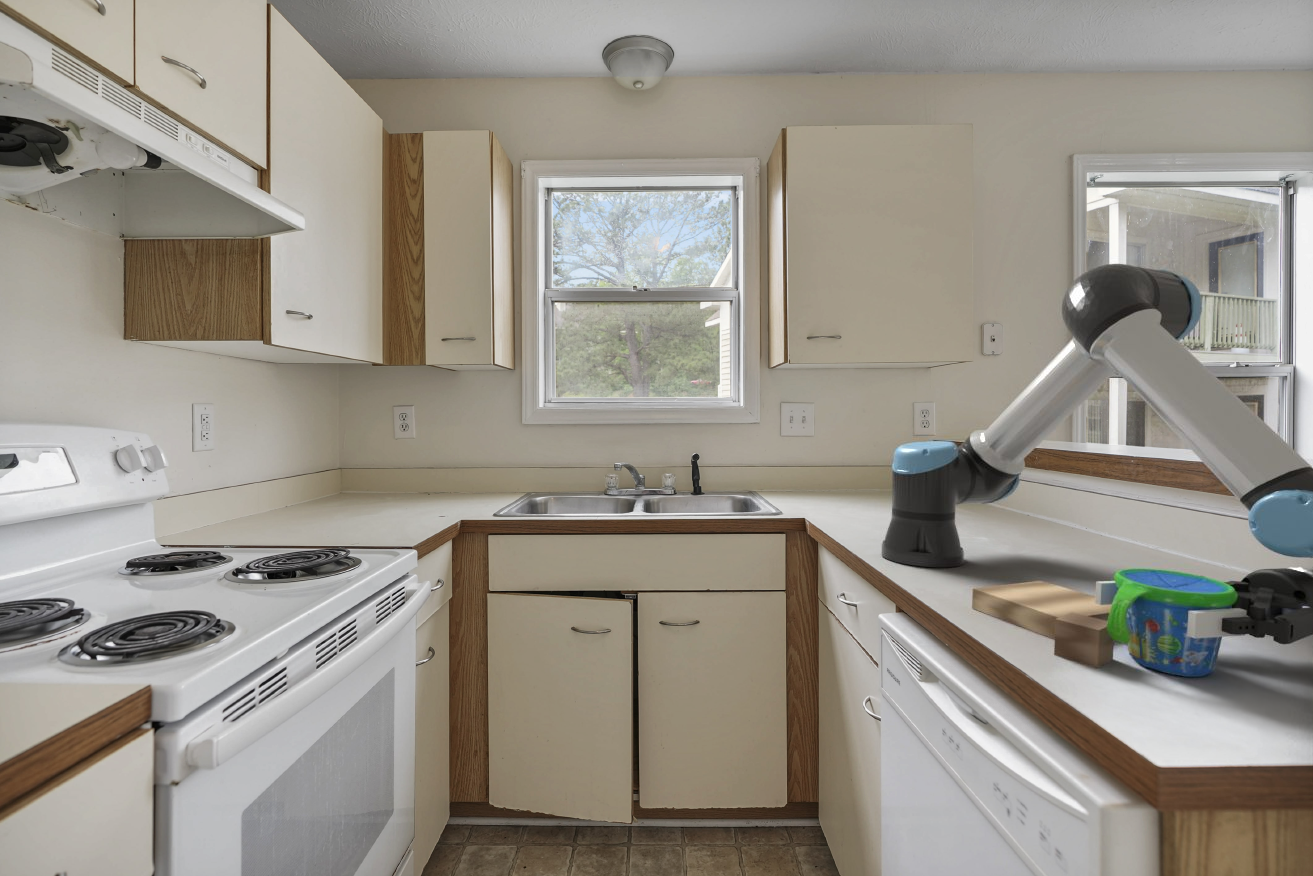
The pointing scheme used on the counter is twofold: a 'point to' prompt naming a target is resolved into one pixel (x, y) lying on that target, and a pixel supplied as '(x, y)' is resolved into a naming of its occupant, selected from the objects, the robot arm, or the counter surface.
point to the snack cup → (1166, 618)
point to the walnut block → (1083, 639)
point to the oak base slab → (1036, 604)
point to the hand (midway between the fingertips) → (1141, 607)
